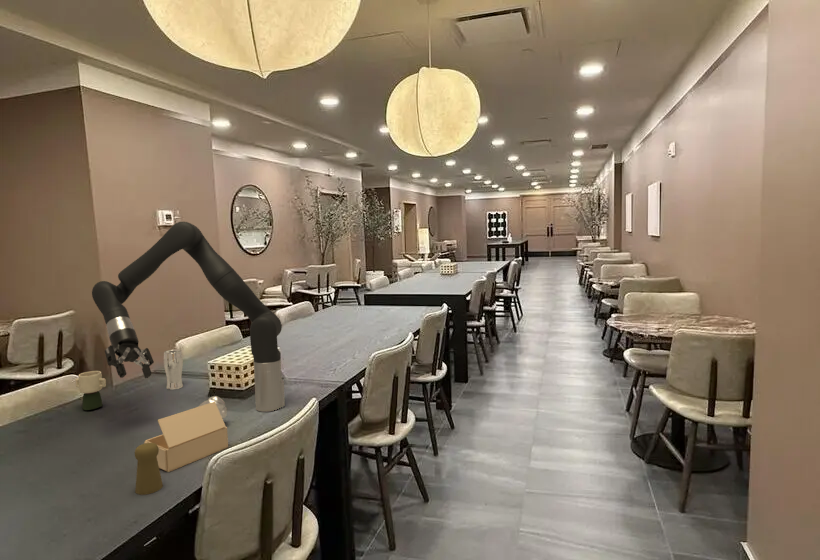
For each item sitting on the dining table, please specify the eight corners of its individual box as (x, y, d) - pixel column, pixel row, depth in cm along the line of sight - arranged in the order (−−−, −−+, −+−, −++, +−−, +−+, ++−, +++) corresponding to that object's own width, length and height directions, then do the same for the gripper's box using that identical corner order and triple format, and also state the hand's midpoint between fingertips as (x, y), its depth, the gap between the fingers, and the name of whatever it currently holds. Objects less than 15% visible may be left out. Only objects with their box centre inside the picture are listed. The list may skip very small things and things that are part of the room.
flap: (225, 426, 145) (214, 401, 147) (225, 426, 145) (214, 401, 147) (168, 448, 131) (157, 420, 133) (169, 447, 131) (157, 419, 133)
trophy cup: (113, 405, 185) (111, 370, 184) (101, 412, 178) (98, 376, 176) (84, 405, 185) (81, 370, 184) (70, 412, 178) (68, 376, 177)
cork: (141, 483, 126) (138, 440, 125) (166, 481, 126) (164, 439, 125) (130, 495, 120) (127, 450, 119) (156, 493, 120) (154, 449, 119)
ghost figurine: (214, 433, 156) (212, 402, 155) (190, 430, 160) (188, 399, 159) (233, 423, 165) (232, 393, 164) (210, 420, 168) (209, 390, 167)
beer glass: (188, 385, 208) (186, 349, 206) (175, 390, 201) (172, 353, 200) (174, 384, 210) (172, 348, 208) (161, 389, 203) (159, 352, 202)
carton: (205, 438, 153) (204, 419, 152) (229, 447, 146) (228, 427, 146) (143, 462, 137) (142, 440, 137) (167, 472, 131) (165, 450, 130)
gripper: (108, 324, 156) (122, 369, 150) (148, 329, 169) (163, 370, 162) (93, 338, 158) (106, 383, 152) (134, 342, 171) (148, 383, 164)
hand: (136, 376), depth 157 cm, fingers open, 8 cm apart
